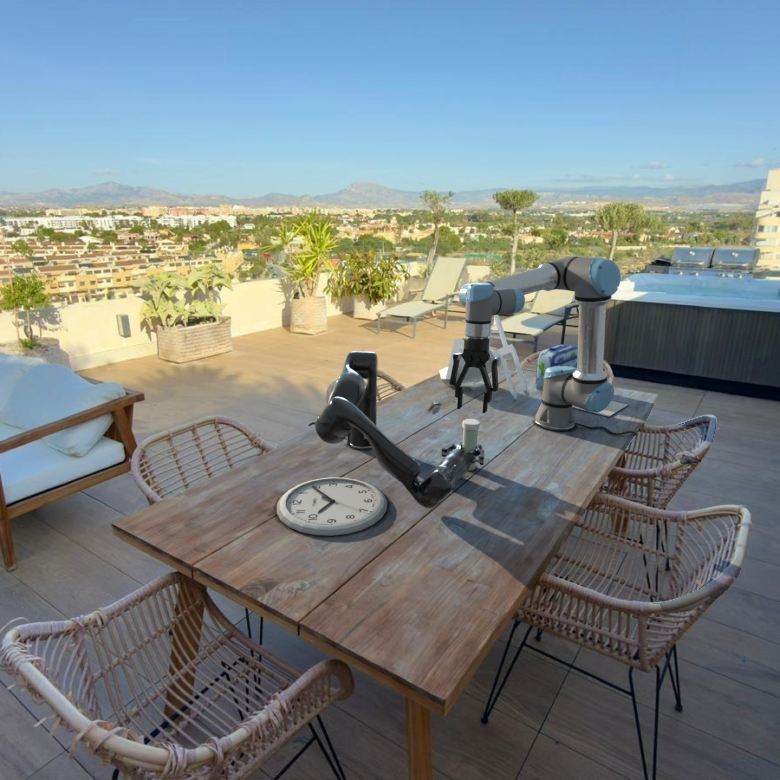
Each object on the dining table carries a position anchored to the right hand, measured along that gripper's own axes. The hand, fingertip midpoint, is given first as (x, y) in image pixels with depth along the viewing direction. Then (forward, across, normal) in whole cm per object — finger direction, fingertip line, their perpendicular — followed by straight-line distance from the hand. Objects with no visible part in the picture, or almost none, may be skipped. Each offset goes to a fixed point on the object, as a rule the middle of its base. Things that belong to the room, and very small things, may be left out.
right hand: (472, 409), depth 161 cm
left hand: (+13, 0, -3) cm, 13 cm away
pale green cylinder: (+20, 0, 0) cm, 20 cm away
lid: (+4, 0, 0) cm, 4 cm away
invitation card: (+20, -35, -84) cm, 93 cm away
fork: (+20, +30, -50) cm, 62 cm away
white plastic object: (+20, +18, -80) cm, 84 cm away
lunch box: (+20, -13, -101) cm, 104 cm away
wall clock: (+20, +27, +40) cm, 52 cm away
